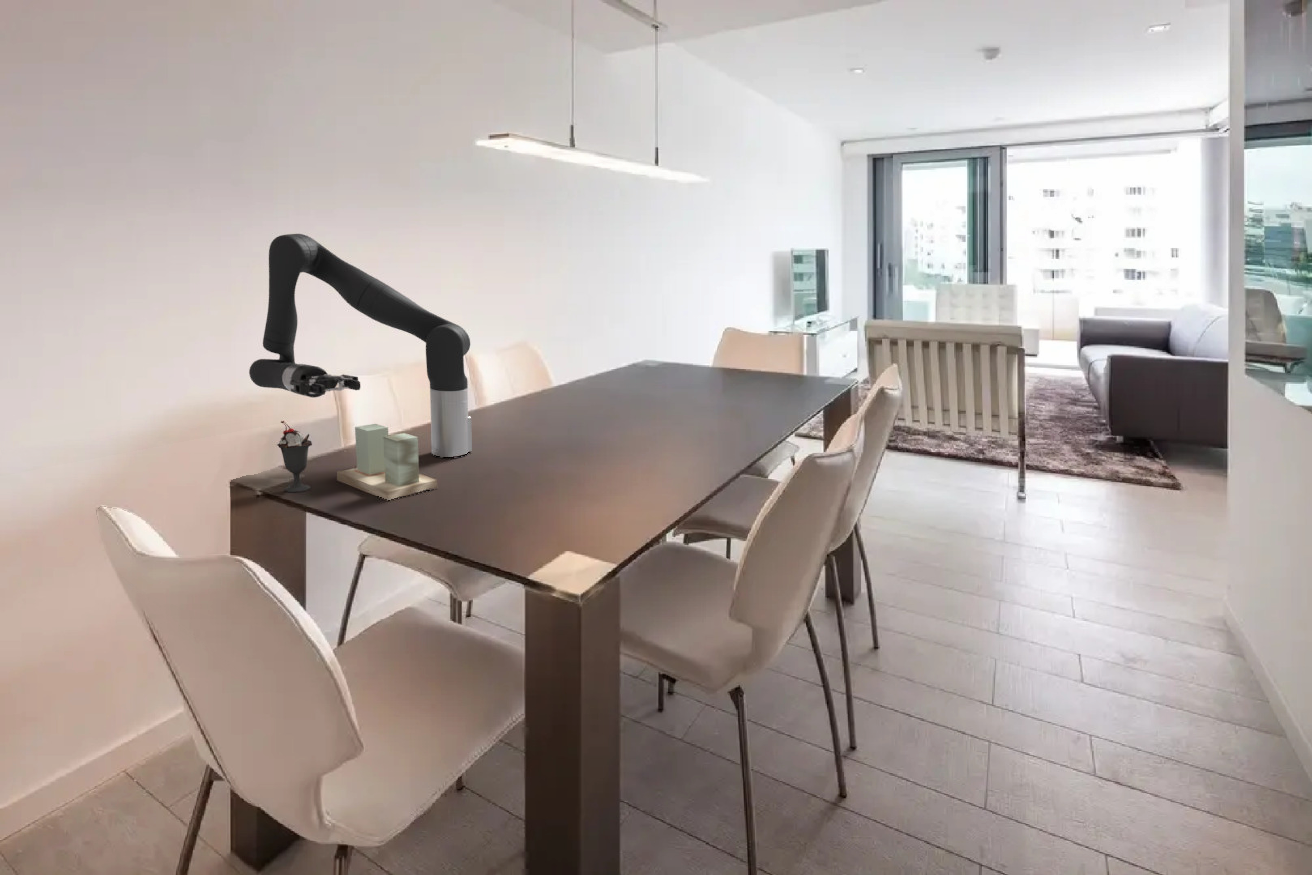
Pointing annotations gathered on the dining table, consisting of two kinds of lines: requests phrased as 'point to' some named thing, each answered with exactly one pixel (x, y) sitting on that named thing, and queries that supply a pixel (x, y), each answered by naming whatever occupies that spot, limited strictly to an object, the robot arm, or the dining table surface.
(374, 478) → the board
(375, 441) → the green block
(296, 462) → the sundae
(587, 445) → the dining table surface
